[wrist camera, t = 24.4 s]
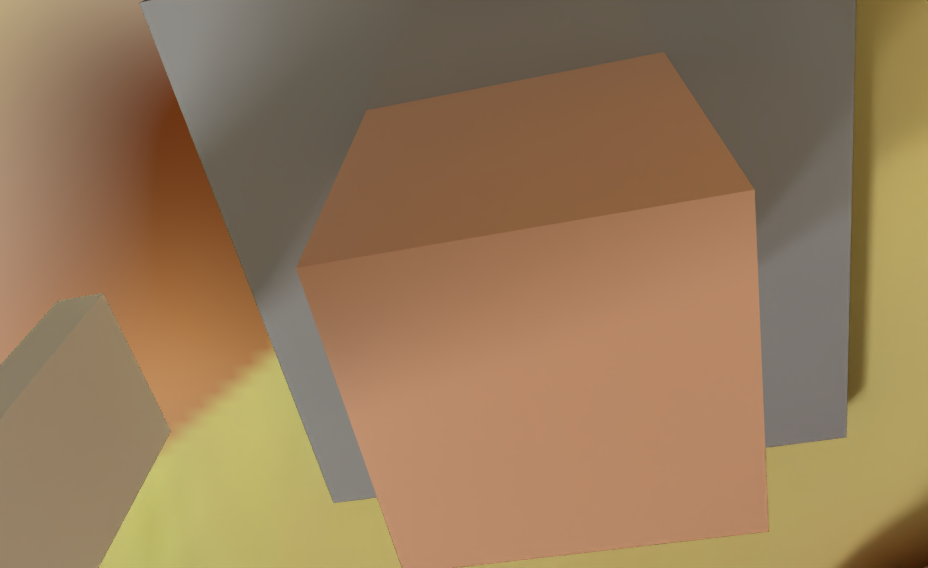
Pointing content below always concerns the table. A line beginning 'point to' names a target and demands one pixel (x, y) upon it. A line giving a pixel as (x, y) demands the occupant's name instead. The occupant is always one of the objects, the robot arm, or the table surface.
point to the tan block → (546, 318)
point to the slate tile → (506, 60)
